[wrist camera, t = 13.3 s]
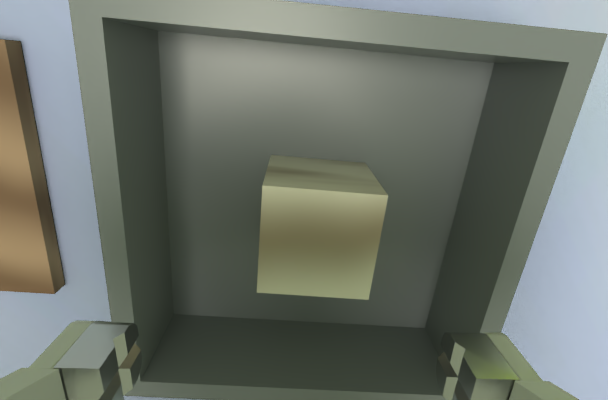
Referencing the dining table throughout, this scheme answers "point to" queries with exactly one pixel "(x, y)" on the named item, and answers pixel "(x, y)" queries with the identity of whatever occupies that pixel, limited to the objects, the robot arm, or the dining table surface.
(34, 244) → the walnut board
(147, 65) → the bin
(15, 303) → the dining table surface
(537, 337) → the dining table surface
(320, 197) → the cream block
